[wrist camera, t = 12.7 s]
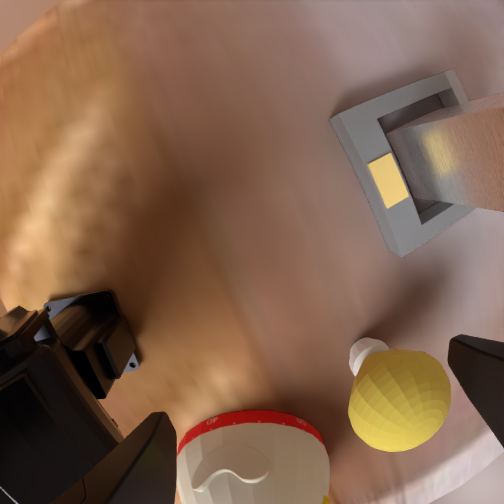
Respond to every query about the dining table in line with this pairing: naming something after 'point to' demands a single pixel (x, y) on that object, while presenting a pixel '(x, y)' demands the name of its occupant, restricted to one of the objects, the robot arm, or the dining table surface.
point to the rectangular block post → (455, 153)
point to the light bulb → (396, 395)
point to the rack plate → (396, 164)
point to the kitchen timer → (253, 461)
